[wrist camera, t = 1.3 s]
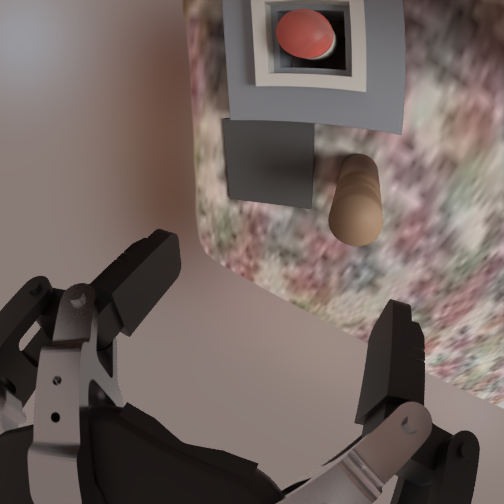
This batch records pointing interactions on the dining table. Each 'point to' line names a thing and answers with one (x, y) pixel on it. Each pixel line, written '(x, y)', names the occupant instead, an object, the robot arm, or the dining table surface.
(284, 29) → the plunger
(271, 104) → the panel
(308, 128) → the mat
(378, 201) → the dowel
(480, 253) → the dining table surface
